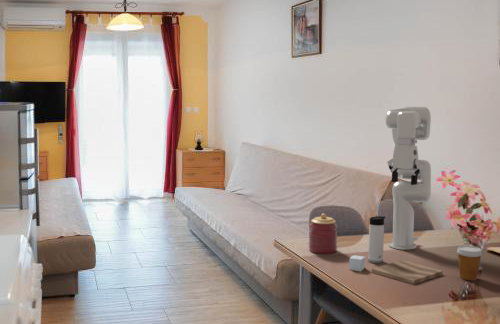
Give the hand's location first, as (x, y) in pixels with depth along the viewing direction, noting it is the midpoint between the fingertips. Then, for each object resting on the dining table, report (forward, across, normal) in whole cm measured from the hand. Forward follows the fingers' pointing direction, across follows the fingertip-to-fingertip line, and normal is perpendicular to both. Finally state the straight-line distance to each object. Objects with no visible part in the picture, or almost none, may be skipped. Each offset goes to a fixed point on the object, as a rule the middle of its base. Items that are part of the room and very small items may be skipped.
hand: (404, 183), depth 246 cm
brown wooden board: (+36, -7, +5) cm, 37 cm away
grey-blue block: (+36, +10, +16) cm, 41 cm away
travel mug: (+36, +12, +1) cm, 38 cm away
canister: (+36, +39, +7) cm, 54 cm away
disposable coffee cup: (+36, -25, -10) cm, 45 cm away
